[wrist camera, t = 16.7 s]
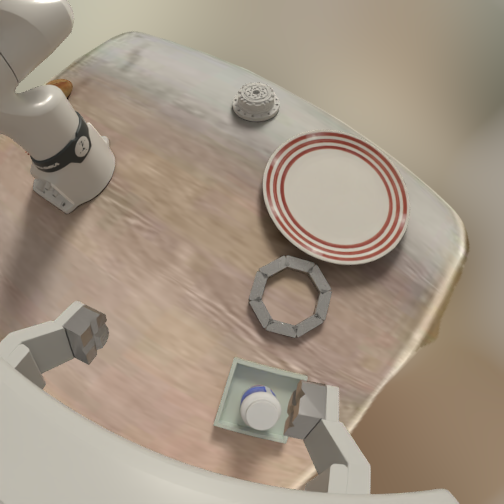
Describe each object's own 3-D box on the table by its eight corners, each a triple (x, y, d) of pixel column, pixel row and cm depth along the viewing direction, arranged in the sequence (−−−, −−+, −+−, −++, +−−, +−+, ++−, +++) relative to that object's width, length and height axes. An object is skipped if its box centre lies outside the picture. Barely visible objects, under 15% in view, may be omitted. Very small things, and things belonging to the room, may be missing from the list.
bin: (215, 420, 40) (213, 425, 37) (235, 356, 43) (234, 357, 40) (284, 438, 39) (285, 443, 36) (304, 374, 42) (307, 376, 40)
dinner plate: (229, 195, 51) (228, 186, 48) (322, 118, 57) (325, 107, 54) (349, 303, 46) (356, 300, 42) (423, 200, 51) (431, 193, 48)
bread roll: (81, 91, 61) (71, 72, 53) (43, 129, 57) (29, 112, 50) (68, 85, 63) (57, 67, 55) (32, 120, 59) (19, 104, 51)
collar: (241, 323, 44) (241, 323, 43) (263, 250, 48) (263, 248, 47) (317, 343, 43) (318, 343, 42) (334, 270, 47) (336, 269, 46)
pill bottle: (235, 408, 40) (231, 425, 31) (250, 378, 41) (250, 389, 32) (267, 421, 39) (271, 442, 30) (282, 392, 41) (291, 406, 31)
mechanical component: (250, 129, 55) (288, 111, 57) (250, 115, 51) (290, 96, 53) (224, 103, 58) (260, 86, 59) (222, 89, 54) (261, 72, 55)
